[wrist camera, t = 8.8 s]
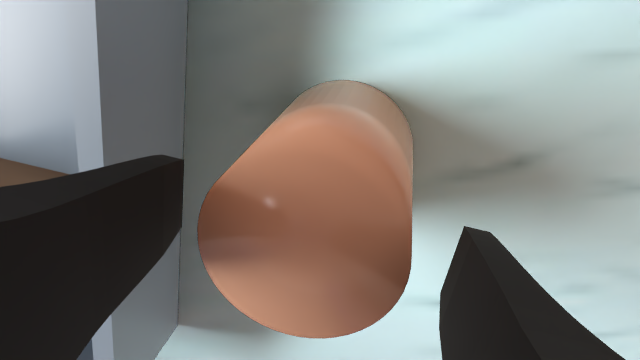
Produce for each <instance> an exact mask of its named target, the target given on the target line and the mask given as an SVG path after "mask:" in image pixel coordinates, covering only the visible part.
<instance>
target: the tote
mask: <svg viewBox="0 0 640 360" xmlns="http://www.w3.org/2000/svg"><path fill="white" fill-rule="evenodd" d="M187 13H188V0H0V158H3V159H7V160H11V161H16V162H20V163H24V164H28V165H32V166H37V167H41V168H45V169H49V170H53V171H58V172H62V173H66V174H75V173H79V172H84V171H88V170H93V169H97V168H101V167H105V166H109V165H113V164H117V163H121V162H125V161H129V160H133V159H137V158H142V157H147V156H153V155H161V154H162V155H167V156H171V157H175V158H179V159H183V138H184V107H185V76H186V44H187ZM180 231H181V229H180V230H179V232H178V234H177V235H176V237H175V238H174V240H173V242H172V243H171V245H170V246H169V248H168V249H167V251H166V252H165V254H164V255H163V256H162V258H161V259H160V260H159V261H158V262H157V263H156V265H155V266H154V267H153V268H152V269H151V270H150V271H149V273H148V274H147V275H146V276H145V277H144V278H143V279H142V280H141V282H140V283H139V284H138V285H137V286H136V287H135V288H134V289H133V290H132V292H131V293H130V294H129V295H128V296H127V297H126V298H125V299H124V301H123V302H122V303H121V304H120V305H119V306H118V307H117V308H116V309H115V311H114V312H113V313H112V314H111V315H110V316H109V317H108V318H107V320H106V321H105V322H104V323H103V325H102V326H101V327H100V328H99V329H98V331H97V332H96V333H95V335H94V336H93V337H92V339H91V340H90V342H89V343H88V344H87V346H86V347H85V348H84V350H83V351H82V353H81V354H80V355H79V357H78V358H77V360H154V359H155V358H156V356H157V355H158V353H159V352H160V350H161V349H162V347H163V346H164V344H165V343H166V342H167V340H168V339H169V337H170V336H171V334H172V333H173V331H174V330H175V328H176V327H177V324H178V293H179V262H180Z"/></svg>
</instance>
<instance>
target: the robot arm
mask: <svg viewBox="0 0 640 360" xmlns="http://www.w3.org/2000/svg"><path fill="white" fill-rule="evenodd" d="M183 173H184V160H183V159H179V158H175V157H171V156H167V155H162V154H161V155H153V156H147V157H142V158H137V159H133V160H129V161H125V162H121V163H117V164H113V165H109V166H105V167H101V168H97V169H93V170H88V171H84V172H79V173H75V174H70V175H65V176H61V177H56V178H51V179H47V180H42V181H36V182H30V183H24V184H18V185H10V186H3V187H0V360H77V358H78V357H79V355H80V354H81V353H82V351H83V350H84V348H85V347H86V346H87V344H88V343H89V342H90V340H91V339H92V337H93V336H94V335H95V333H96V332H97V331H98V329H99V328H100V327H101V326H102V325H103V323H104V322H105V321H106V320H107V318H108V317H109V316H110V315H111V314H112V313H113V312H114V311H115V309H116V308H117V307H118V306H119V305H120V304H121V303H122V302H123V301H124V299H125V298H126V297H127V296H128V295H129V294H130V293H131V292H132V290H133V289H134V288H135V287H136V286H137V285H138V284H139V283H140V282H141V280H142V279H143V278H144V277H145V276H146V275H147V274H148V273H149V271H150V270H151V269H152V268H153V267H154V266H155V265H156V263H157V262H158V261H159V260H160V259H161V258H162V256H163V255H164V254H165V252H166V251H167V249H168V248H169V246H170V245H171V243H172V242H173V240H174V238H175V237H176V235H177V234H178V232H179V230H180V229H181V227H182V205H183ZM439 330H440V341H441V351H442V360H625V359H624V358H623V357H621V356H620V355H619V354H617V353H616V352H615V351H613V350H612V349H611V348H609V347H608V346H607V345H606V344H605V343H603V342H602V341H601V340H600V339H598V338H597V337H596V336H595V335H594V334H592V333H591V332H590V331H589V330H587V329H586V328H585V327H584V326H583V325H581V324H580V323H579V322H578V321H577V320H576V319H575V318H573V317H572V316H571V315H570V314H569V313H568V312H567V311H566V310H565V309H564V308H563V307H562V306H561V305H560V304H559V303H558V302H556V301H555V300H554V299H553V298H552V297H551V296H550V295H549V294H548V293H547V292H546V291H545V290H544V289H543V288H542V287H541V286H540V285H539V284H538V283H537V282H536V281H535V280H534V278H533V277H532V276H531V275H530V274H529V273H528V272H527V271H526V270H525V269H524V268H523V267H522V266H521V264H520V263H519V262H518V261H517V260H516V259H515V258H514V257H513V256H512V255H511V253H510V252H509V251H508V250H507V249H506V248H505V247H504V246H503V245H502V244H501V243H500V242H499V241H498V239H497V238H496V237H495V236H493V235H492V234H491V233H490V232H487V231H482V230H478V229H474V228H470V227H466V226H464V228H463V231H462V234H461V237H460V239H459V242H458V245H457V248H456V251H455V253H454V256H453V259H452V262H451V265H450V267H449V270H448V273H447V276H446V279H445V282H444V284H443V287H442V290H441V295H440V320H439Z"/></svg>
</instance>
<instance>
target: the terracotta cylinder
mask: <svg viewBox="0 0 640 360" xmlns="http://www.w3.org/2000/svg"><path fill="white" fill-rule="evenodd" d="M412 193H413V138H412V134H411V129H410V127H409V124H408V121H407V119H406V118H405V116H404V114H403V112H402V111H401V110H400V108H399V107H398V106H397V104H396V103H395V102H394V101H393V100H392V99H391V98H389V97H388V96H387V95H386V94H384V93H383V92H381V91H380V90H378V89H376V88H374V87H372V86H370V85H367V84H364V83H361V82H357V81H350V80H335V81H328V82H324V83H320V84H318V85H316V86H313V87H311V88H309V89H308V90H306V91H304V92H303V93H302V94H300V95H299V96H298V97H297V98H296V99H295V100H294V101H293V102H292V103H291V104H290V105H289V106H288V107H287V108H286V109H285V110H284V111H283V112H282V113H281V114H280V115H279V117H278V118H277V119H276V120H275V121H274V122H273V123H272V124H271V125H270V126H269V127H268V128H267V129H266V130H265V131H264V132H263V133H262V134H261V135H260V136H259V137H258V138H257V139H256V140H255V142H254V143H253V144H252V145H251V146H250V147H249V148H248V149H247V150H246V151H245V152H244V153H243V154H242V155H241V156H240V157H239V158H238V159H237V160H236V161H235V162H234V163H233V164H232V165H231V166H230V168H229V169H228V170H227V171H226V172H225V173H224V174H223V175H222V176H221V177H220V178H219V179H218V180H217V181H216V182H215V183H214V185H213V186H212V188H211V189H210V190H209V192H208V193H207V195H206V197H205V200H204V202H203V204H202V207H201V210H200V214H199V219H198V227H197V232H198V244H199V251H200V254H201V257H202V261H203V263H204V266H205V268H206V270H207V272H208V274H209V276H210V278H211V279H212V281H213V283H214V284H215V286H216V287H217V288H218V289H219V291H220V292H221V293H222V295H223V296H224V297H225V298H226V299H227V300H228V301H229V302H230V303H231V304H232V305H234V306H235V307H236V308H237V309H238V310H239V311H241V312H242V313H244V314H245V315H246V316H248V317H249V318H251V319H252V320H254V321H256V322H258V323H260V324H261V325H264V326H266V327H268V328H271V329H273V330H276V331H279V332H282V333H285V334H289V335H293V336H298V337H306V338H332V337H339V336H344V335H349V334H352V333H355V332H358V331H361V330H363V329H365V328H367V327H369V326H371V325H372V324H374V323H375V322H377V321H378V320H380V319H381V318H382V317H384V316H385V315H386V314H387V313H388V312H389V311H390V310H391V309H392V308H393V307H394V305H395V304H396V303H397V302H398V300H399V299H400V297H401V295H402V294H403V292H404V289H405V287H406V284H407V282H408V279H409V274H410V270H411V257H412Z"/></svg>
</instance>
